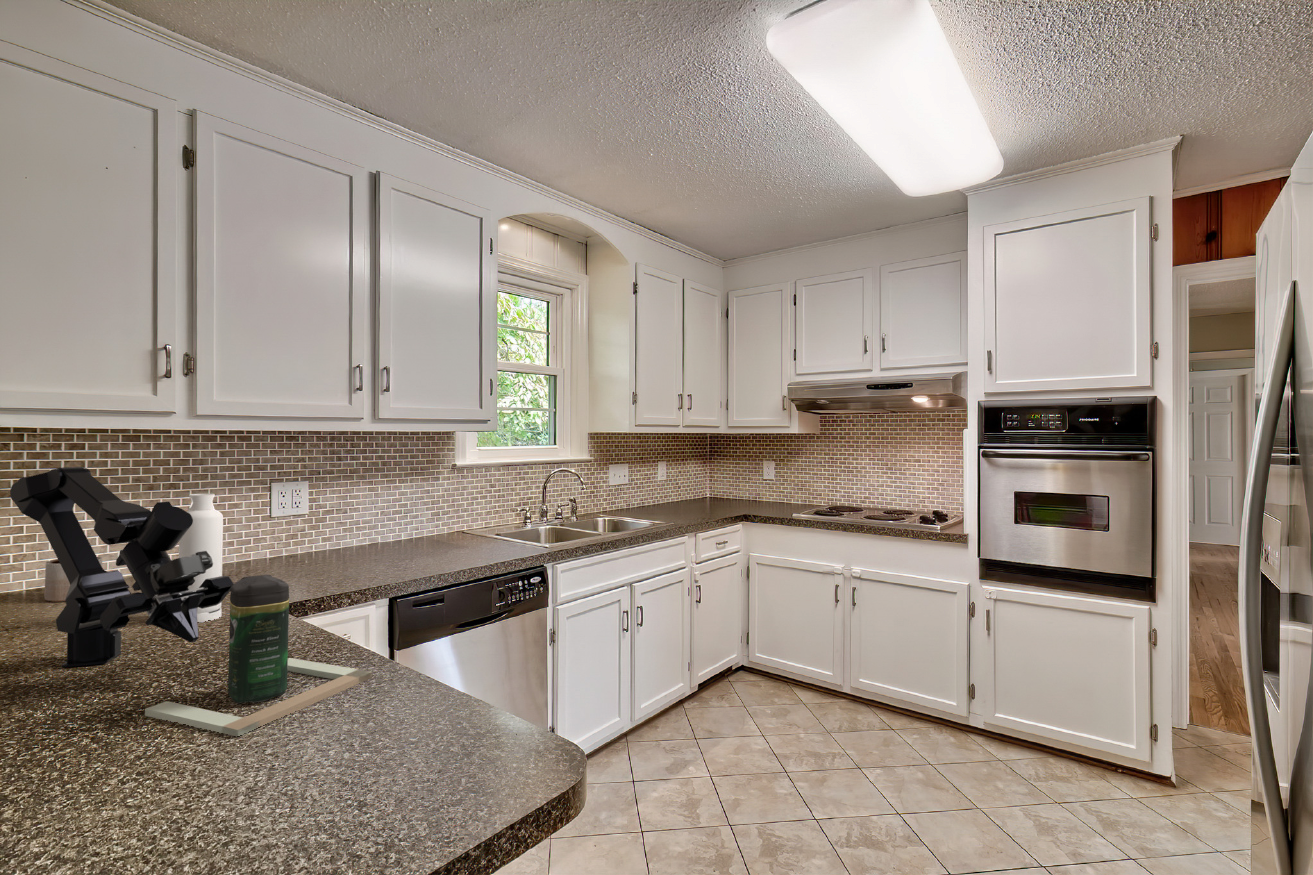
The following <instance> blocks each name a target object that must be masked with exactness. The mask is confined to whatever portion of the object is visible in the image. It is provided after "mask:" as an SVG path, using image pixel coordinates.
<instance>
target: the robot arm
mask: <svg viewBox="0 0 1313 875" xmlns="http://www.w3.org/2000/svg"><path fill="white" fill-rule="evenodd" d="M9 494H10V499H11V500H12V502H14V504H15V505H16V507H17V508H18V509H19V511H20V512H21V514H23V515H24V516H26V517H28V518H30V519H33V520H34V521H36V522H38V523H39V524H40V527H41V528H42V530H43V532H44V534H45V536H46V538H47V540H48V542H49V544H50V546H51V548H52V550H53V552H54V554H55V557H56V558H57V559H58V560H59V562H60V564H61V566H62V568H63V570H64V572H65V574H66V576H67V578H68V580H69V582H70V587H69V590H68V593H67V596H66V598H65V602H64V603H65V606H64V607H63V608H62V611H61V612H60V613H59V614H58V616H57V617H56V618H55V622H56V623H55V624H56V629H57V632H60V633H65V634H66V633H67V635H66V636H67V637H66V638H67V639H66V640H67V644H66V649H67V650H66V661H65V662H64V663H62V664H61V668H70V667H81V666H82V667H83V666H92V665H93V666H95V665H104V664H108V663H109V662H111V661H112V660H114V659H115V658H117V657H118V656H119V655H120V654H122V648H121V646H122V631H121V630H118V629H122V628H125V627H126V626H127V625H128V623H129V622H130V617H129V616H131V615H138V614H141V613H145V612H146V614H147V617H148V618H147V620H146V621H145V625H147V626H154V627H157V628H160V629H162V630H165V631H166V632H169V633H170V634H173V635H175V636H177V637H179V638H181V639H183V640H185V641H187V642H189V643H196V641H198V640H199V626H198V623H197V608H198V607H199V608H202V609H203V608H207V607H211V606H216V605H218V604H219V603H221V602H223V600H224V599H225V598H226V597H227V596H228V594H229V593H231V592H230V590H231V587H232V585H233V584H234V583H235V582H233V580H232V578H231V577H230V576H228V575H222V576H219V577H214V578H209V579H205V581H204V582H203V583H202V584H201V586H200V587H199V588H197V589H192V590H189V589H188V587H189V586H191V585H192V584H193V583H194V582H195V580H194V577H196V576H198V575H200V574H204V573H205V572H206V570H207V569H209V568H211V567H212V566H213V561H212V558H211V556H210V555H209V554H208V553H207V551H202V552H197V553H196V554H193V555H192V556H189V557H182V558H179V557H177V558H174V559H171V557H170V555H169V554H168V552H167V551H171V550H173V549H174V548H176V546H177V544H179V541H180V540H181V538H182V537H183V536H184V534H185V533H186V532H187V530H188V529H189V528H190V527H191V525H192V523H193V518H192V516H191V515H190V513H187V511H186V510H184V509H182V507H178V506H174V505H172V503H171V502H170V501H161V502H160V501H158V502H156V503H155V504H154V506H153V507H152V509H151V510H150V509H148V508H147V507H144V506H142V505H139V504H137V503H131V502H128V501H125V500H122V499H120V497H118V496H117V495H116V494H115V493H113V492H112V491H111V490H110V489H108V488H107V486H105V485H104V484H102V483H101V482H100V481H99V480H97V479H96V478H95V477H94V476H93V475H92V473H91V471H90V470H89V468H86V467H84V466H74V467H70V466H69V467H68V466H67V467H57V468H53V469H51V470H48V471H47V472H43V473H38V474H35V475H31V476H23V477H20V478H19V479H18V480H17V481H16V482H14V483H13V484H12V485H11V487H10V491H9ZM75 504H76V506H78V507H79V508H80V509H81V510H82V511H83V512H85V513H86V515H88V516H90V518H91V519H92V520H93V521H94V522H95V523H94V527H93V531H94V532H95V534H96V535H97V537H98V538H100V540H101V541H102V542H103V544H106V545H107V546H114V545H121V544H126V545H124V547H123V549H121V550H119V554H118V557H117V558H116V560H115V566H116V567H122V566H126V567H127V569H128V571H129V573H130V574H131V576H132V578H133V579H134V581H135V582H134V583H133V584H132V585H131V588H132V589H133V590H134V592H133V593H132V592H131V591H130V590H129V588H130V585H129V584H127V582H126V580H125V578H124V575H123V573H122V572H121V571H119V570H118V569H117V570H112V571H107V570H105V569H104V568H103V565H102V566H101V564H100V562H99V560H98V558H97V557H98V556H97V554H96V553H95V551H94V549H93V547H92V545H91V543H90V541H89V539H88V537H87V536H86V533H85V531H84V529H83V528H82V525H81V524H80V521H79V520H78V518H77V516H76V514H75V511H74V510H73V508H74V505H75ZM137 591H141V592H137Z"/></svg>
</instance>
